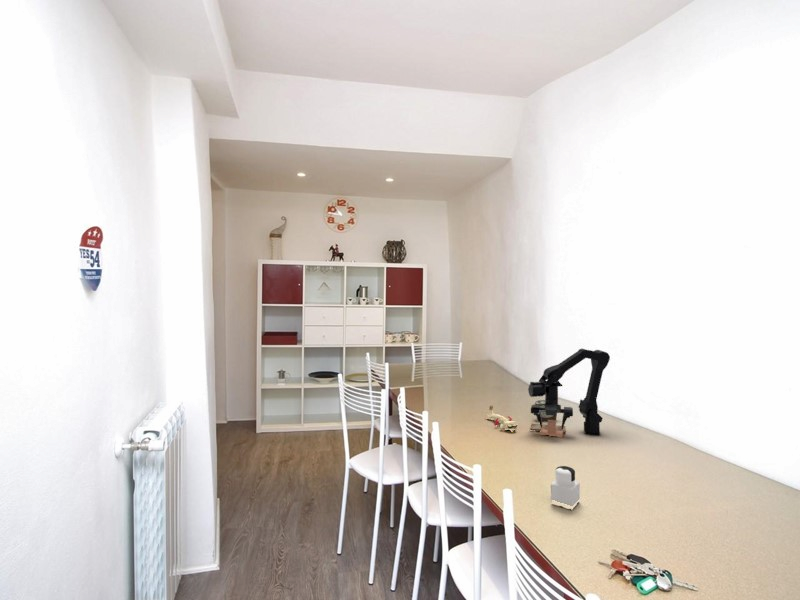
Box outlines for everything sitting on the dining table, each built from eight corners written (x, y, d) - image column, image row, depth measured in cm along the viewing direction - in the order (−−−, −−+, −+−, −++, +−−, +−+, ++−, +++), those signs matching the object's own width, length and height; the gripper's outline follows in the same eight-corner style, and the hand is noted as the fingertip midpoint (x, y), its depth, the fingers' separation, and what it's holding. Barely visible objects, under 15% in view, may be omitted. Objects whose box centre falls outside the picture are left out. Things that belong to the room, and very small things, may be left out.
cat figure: (482, 422, 249) (504, 433, 224) (481, 405, 249) (503, 415, 225) (499, 420, 251) (523, 431, 227) (498, 404, 251) (522, 413, 227)
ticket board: (566, 429, 230) (566, 426, 230) (566, 434, 223) (566, 431, 223) (530, 426, 236) (530, 423, 236) (529, 431, 228) (529, 428, 228)
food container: (556, 418, 247) (556, 399, 247) (559, 422, 241) (558, 402, 241) (532, 418, 249) (532, 399, 248) (534, 422, 242) (534, 402, 242)
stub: (563, 434, 223) (562, 420, 222) (562, 437, 219) (562, 423, 218) (541, 432, 226) (540, 419, 226) (540, 435, 222) (540, 421, 222)
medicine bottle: (558, 496, 162) (558, 462, 161) (580, 502, 157) (579, 467, 157) (550, 504, 156) (550, 469, 156) (572, 511, 152) (572, 474, 151)
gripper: (529, 398, 217) (529, 432, 218) (572, 401, 211) (572, 435, 211) (531, 392, 228) (531, 424, 228) (572, 395, 221) (572, 428, 222)
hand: (551, 428), depth 222 cm, fingers open, 9 cm apart
